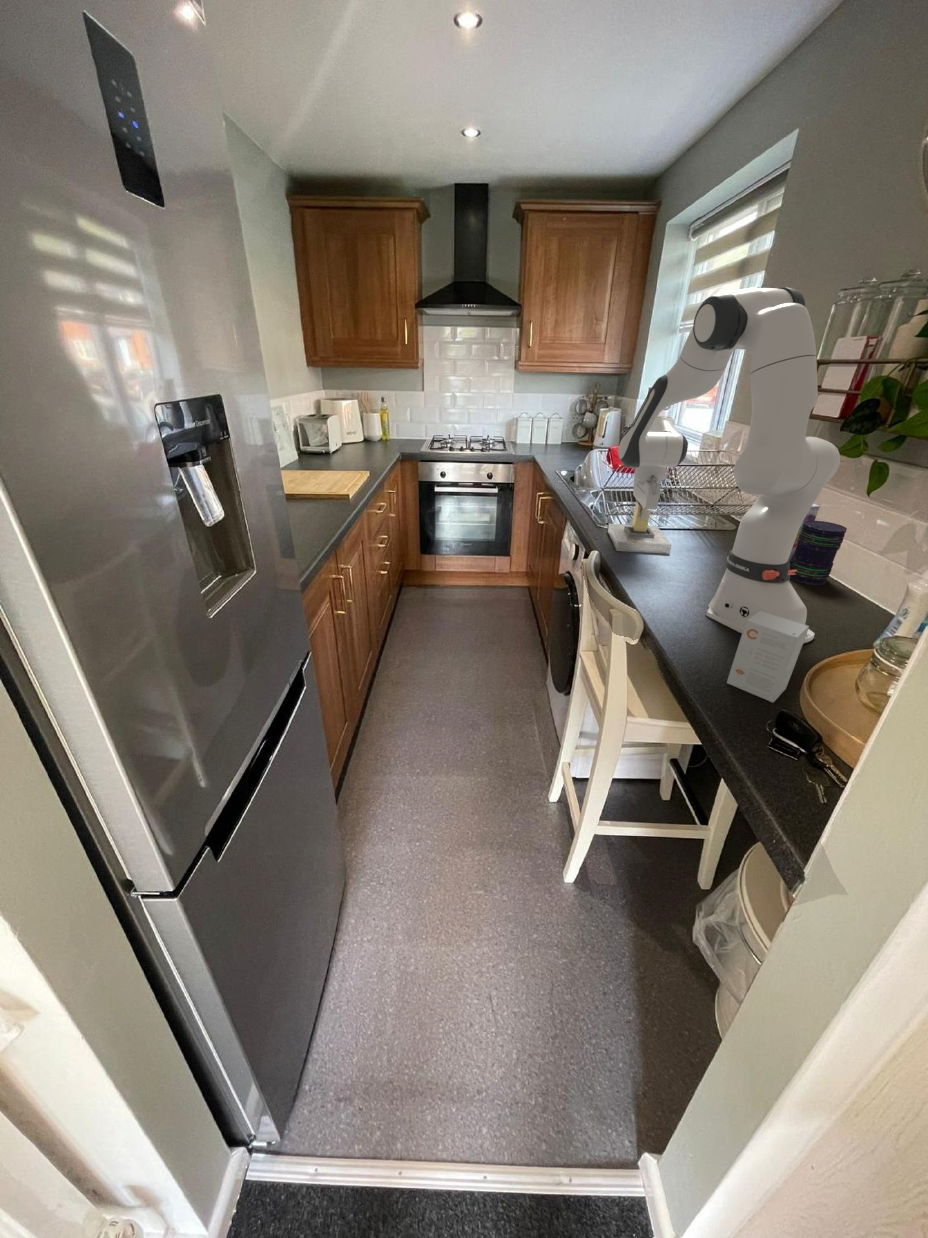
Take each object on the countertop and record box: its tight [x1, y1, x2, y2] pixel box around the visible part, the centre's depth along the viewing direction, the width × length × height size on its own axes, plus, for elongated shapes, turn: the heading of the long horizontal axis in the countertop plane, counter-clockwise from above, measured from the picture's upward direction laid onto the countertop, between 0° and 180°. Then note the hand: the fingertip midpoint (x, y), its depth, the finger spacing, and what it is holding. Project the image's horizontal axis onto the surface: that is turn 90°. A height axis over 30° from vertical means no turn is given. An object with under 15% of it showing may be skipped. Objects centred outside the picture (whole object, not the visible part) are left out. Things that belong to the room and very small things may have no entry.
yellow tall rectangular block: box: [631, 501, 652, 533], centre depth 158 cm, size 4×4×9 cm
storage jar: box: [789, 520, 848, 586], centre depth 134 cm, size 10×10×15 cm
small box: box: [726, 611, 810, 704], centre depth 86 cm, size 8×6×13 cm
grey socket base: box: [607, 523, 673, 555], centre depth 161 cm, size 20×16×4 cm
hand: (641, 516), depth 158 cm, fingers closed on yellow tall rectangular block, 4 cm apart
